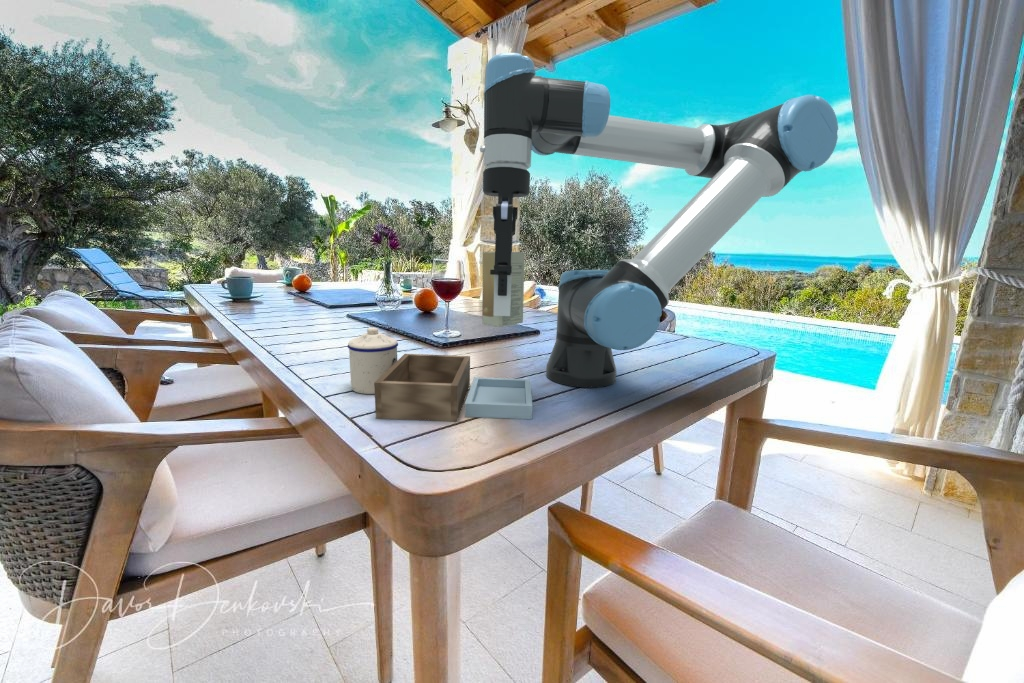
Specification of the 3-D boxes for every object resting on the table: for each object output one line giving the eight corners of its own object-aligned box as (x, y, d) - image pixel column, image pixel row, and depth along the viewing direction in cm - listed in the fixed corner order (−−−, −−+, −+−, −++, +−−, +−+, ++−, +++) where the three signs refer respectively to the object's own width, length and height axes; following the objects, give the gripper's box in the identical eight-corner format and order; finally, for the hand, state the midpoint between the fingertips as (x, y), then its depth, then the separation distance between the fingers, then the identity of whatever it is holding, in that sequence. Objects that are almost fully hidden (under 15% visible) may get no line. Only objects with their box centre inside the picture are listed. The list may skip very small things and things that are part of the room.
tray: (529, 390, 82) (529, 379, 81) (531, 419, 68) (532, 406, 67) (473, 388, 82) (473, 377, 81) (464, 416, 68) (465, 403, 68)
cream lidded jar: (400, 393, 78) (398, 332, 75) (348, 397, 75) (344, 334, 72) (397, 374, 89) (395, 320, 86) (352, 377, 86) (349, 321, 83)
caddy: (469, 384, 84) (470, 356, 82) (457, 421, 66) (457, 385, 65) (405, 382, 84) (404, 353, 82) (375, 418, 66) (374, 382, 65)
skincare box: (505, 320, 75) (507, 251, 73) (523, 323, 72) (526, 252, 70) (480, 324, 70) (481, 250, 68) (498, 327, 68) (500, 251, 65)
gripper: (487, 178, 76) (485, 303, 81) (477, 155, 56) (474, 321, 61) (528, 179, 76) (523, 304, 81) (532, 156, 56) (525, 323, 61)
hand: (502, 311), depth 71 cm, fingers closed on skincare box, 7 cm apart
